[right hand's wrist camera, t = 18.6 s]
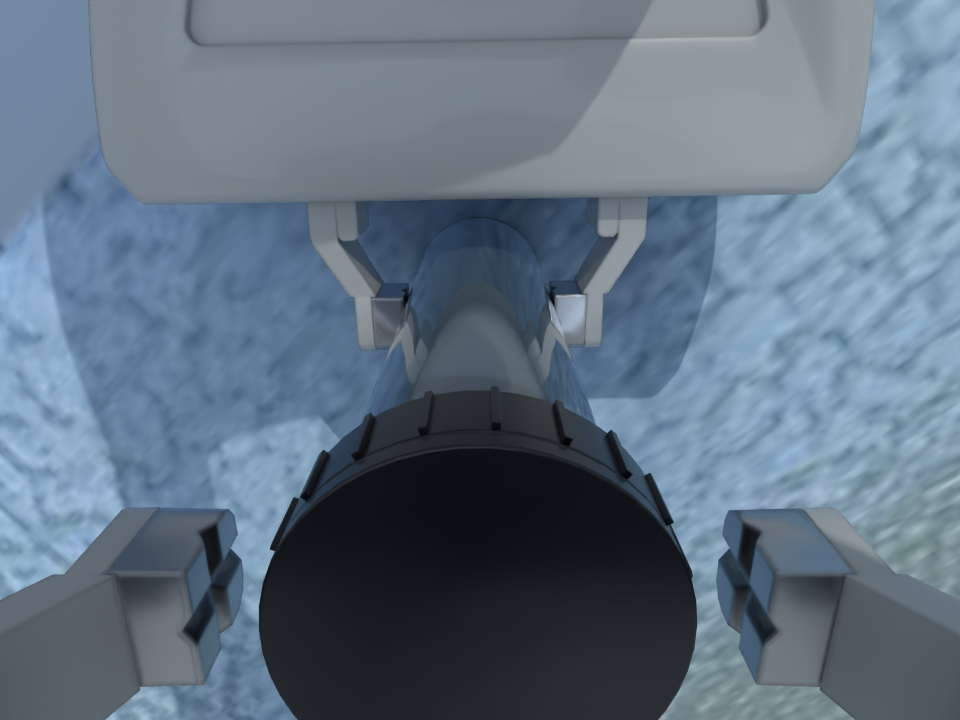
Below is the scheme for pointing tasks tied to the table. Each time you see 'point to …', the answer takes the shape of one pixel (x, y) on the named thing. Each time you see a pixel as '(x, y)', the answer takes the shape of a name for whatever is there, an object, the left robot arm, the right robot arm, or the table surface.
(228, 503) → the table surface
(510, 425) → the lid
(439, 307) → the jar
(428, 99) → the left robot arm
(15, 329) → the table surface
